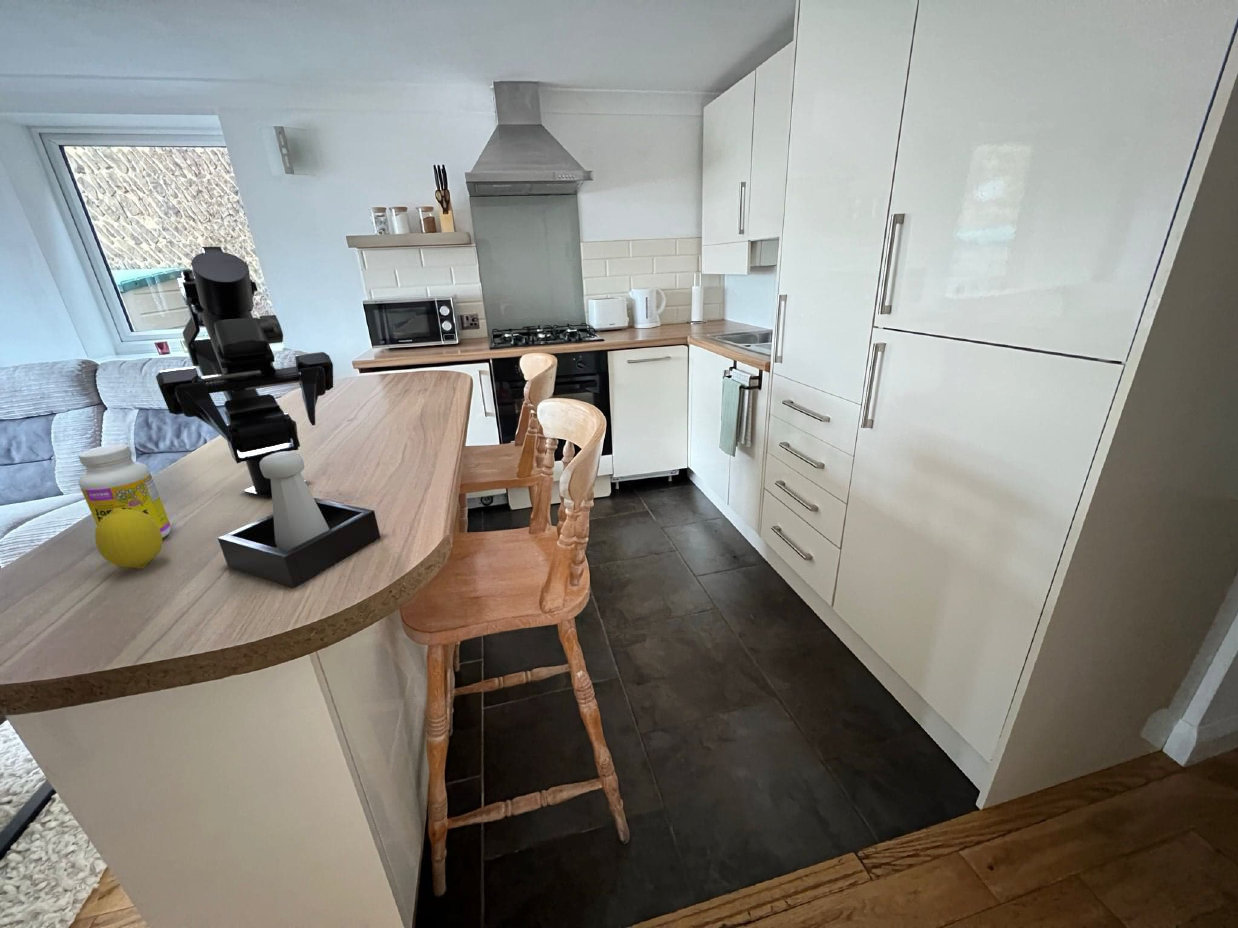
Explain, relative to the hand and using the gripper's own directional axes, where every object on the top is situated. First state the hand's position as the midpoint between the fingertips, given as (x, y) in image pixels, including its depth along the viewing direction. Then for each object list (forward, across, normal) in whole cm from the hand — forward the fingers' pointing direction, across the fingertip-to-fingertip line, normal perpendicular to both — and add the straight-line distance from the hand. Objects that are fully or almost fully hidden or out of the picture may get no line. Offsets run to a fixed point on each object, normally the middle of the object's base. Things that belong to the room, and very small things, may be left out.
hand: (273, 431), depth 65 cm
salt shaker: (+15, -1, +5) cm, 16 cm away
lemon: (+8, -17, +12) cm, 22 cm away
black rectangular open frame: (+15, -1, +5) cm, 16 cm away
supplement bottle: (0, -17, +19) cm, 25 cm away
